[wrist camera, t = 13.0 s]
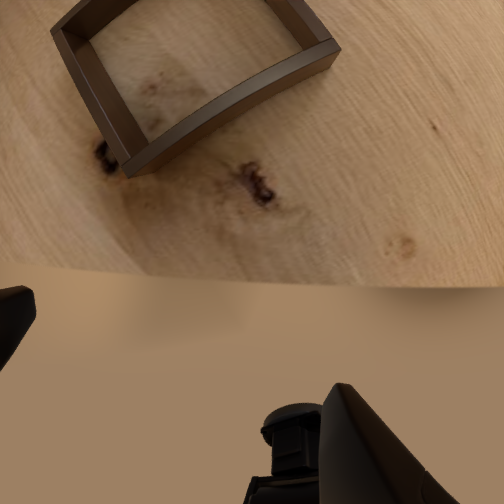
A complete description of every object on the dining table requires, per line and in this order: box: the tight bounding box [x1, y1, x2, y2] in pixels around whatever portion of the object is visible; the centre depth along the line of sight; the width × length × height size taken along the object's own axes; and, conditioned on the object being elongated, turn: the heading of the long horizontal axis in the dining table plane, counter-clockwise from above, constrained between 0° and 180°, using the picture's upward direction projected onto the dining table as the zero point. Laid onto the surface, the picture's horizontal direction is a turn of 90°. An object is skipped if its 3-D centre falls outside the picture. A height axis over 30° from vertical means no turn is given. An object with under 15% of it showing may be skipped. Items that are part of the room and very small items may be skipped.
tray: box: [50, 0, 341, 179], centre depth 13 cm, size 13×13×4 cm
